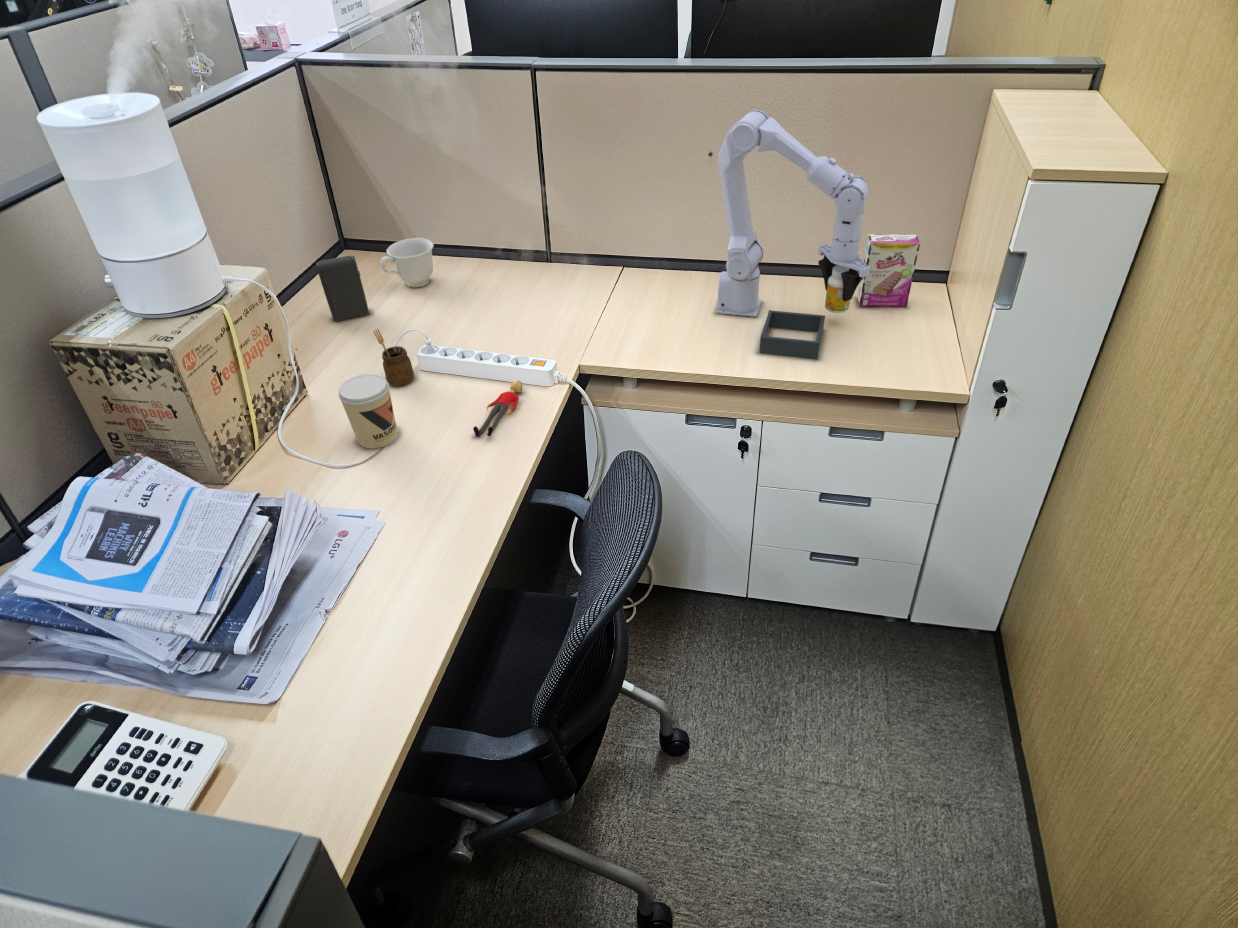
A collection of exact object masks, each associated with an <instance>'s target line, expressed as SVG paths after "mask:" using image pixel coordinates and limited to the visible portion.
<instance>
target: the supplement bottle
mask: <svg viewBox="0 0 1238 928" xmlns="http://www.w3.org/2000/svg"><path fill="white" fill-rule="evenodd" d="M846 271H849V269H848V268H847V267H843V266H840V265H837V266H834V267H833V270H832V276H830V277H829V279H828V285H827V291H826V292H825V293H826V294H825V299H824V309H825V310H826V311H827V312H830V313H833V314H844V313H846V312H847V311H849V309H850V305H851V300H848V301H843V298H842V295H843V281H842V277H841V273H843V272H846Z"/></svg>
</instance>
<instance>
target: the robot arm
mask: <svg viewBox="0 0 1238 928" xmlns="http://www.w3.org/2000/svg"><path fill="white" fill-rule="evenodd" d="M757 146H758V149H757V152H758V153H762V152H770V151H775V152H776V153H778V154H780V155H781V156H782V157H784V158H785V159H787V160H788V161H790V162H792V163H793V164H794V165H795V166H797V167H799V168H800V169H802V170H803V171H805V174H806V179H807V181H808V182H809V183H811V184H812V185H813V186H814V187H815V188H817V189H819V191H821V192H823V193H824V194H825V195H827V196H828V197H829V198H830V199H833V200H834V205H835V207H836V214H835V216H834V223H833V233H832V240H831V241H832V242H831V245H828V244H825V243H824V244H822V245H819V246H818V251H817V255H819V256H821V257H822V256H823V257H822V259H819V260H818V266H819V268H820V270H821V273H822V277H823V282H824V288H825V291H826V292H827V285H828V279H829V277H830V276H832V270H833V267H834V266H837V265H840V266H843V267H847V268H848V269H849V271H846V272H843V273H841V277H842V281H843V295H842V298H843V301H848V300H850V301H851V300H852V299H853V298H854V294H855V293H856V290H857V288H858V287H859V283H860V282H861V280H862V279H863V278H864V277H866V276H869V272H870V267H869V266H867V265H866V264H865V263H864V262H863V260H862V259H861V253H860V252H859V249H860V242H861V237H862V228H863V222H864V212H865V202H866V200H867V198H868V196H869V192H870V191H869V190H870V189H869V183H868V182H867V181H866V180H865V179H864V177H862V176H861V175H854V173H852V172H850V173H849V172H847V170H845V169H844V168H842V167H841V166H839V165H838V164H837V160H836V159H835V158H834V157H831V156H830V158H829V157H828V156H826V155H822V156H816V155H815V154H814V153H813V152H812V151H810V150H809V149H808V148H807V147H805V146H804V144H802V143H800V141H798V140H797V139H796V138H795V137H794V136H792V134H790V133H789V132H788V131H787V130H785V128H783V126H781V125H780V123H779V122H778V121H777V120H776V119H775V118H773V117H772V116H768V114H767V113H766V112H764V111H763V110H760V109H750V110H749V111H748V112H746V113H745V114H744V115H743V117H741V118H740V120H739V121H737V122H735V124H733V125H732V127H730V129H729V130H728V131H727V132H726V133H725V134H724V140H723V143H722V145H721V148H720V150H719V152H718V156H717V165H718V170H719V176H720V183H721V189H722V196H723V201H724V209H725V214H726V219H727V220H726V221H727V227H728V233H729V241H728V246H727V260H726V263H725V269H726V271H724V270H723V271H721V272H720V274H719V279H718V286H717V287H718V288H717V310H716V313H717V314H723V315H730V316H731V315H733V316H743V317H752V318H753V317H757V316H758V313H759V310H760V307H761V304H762V300H761V299H759V291H760V277H761V276H760V275H761V271H760V268H759V263H760V262H761V261H762V260H763V258H764V254H765V253H764V248H763V246H762V245H761V243H760V242H759V239H758V234H757V232H755V231H754V229H753V221H752V216H751V208H750V201H749V194H748V187H747V181H746V173H745V167H744V159H746V157H747V156H748V155H749V153H751V152H752V151H754V150H755V149H756V148H757Z"/></svg>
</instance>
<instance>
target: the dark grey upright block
mask: <svg viewBox="0 0 1238 928" xmlns="http://www.w3.org/2000/svg"><path fill="white" fill-rule="evenodd" d="M355 257H356V256H354V255H345V256H339V257H333V258H328V259H321V260H319V261H317V262H316V263H315V265H316V266H315V267H316V270H317V274H318V278H319V280H320V283H321V286H322V289H323V292H324V296H325V299H326V302H327V305H328V307H329V311H330V314H331V317H332V319H333V321H334V322H335V321H337V322H340V321H345V320H350V319H355V318H361V317H366V316H367V315H369V314H370V310H369V307H368V301H367V298H366V293H365V289H364V286H363V283H362V277H361V272H360V270H359V267H358V263H357V261H356V258H355Z"/></svg>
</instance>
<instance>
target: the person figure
mask: <svg viewBox="0 0 1238 928" xmlns="http://www.w3.org/2000/svg"><path fill="white" fill-rule="evenodd" d="M509 389H510V391H504V392H501V393H500V395H498V397H497V398H496V399H495V400H494V401H492V402H490V403H488V404H487V406H486V411H488V410H489V408H492V409H491V410H490V412H489V414H488V416H487V418H486V420H485V421H484V423H483V424H482V425H481V427H480V428H478V426H474V427H472V430H473V432H474V435H475V437H476V438H479V437H481V435H482V434H483V433H484V431H485V430H486V429H487V434H486V436H487V437H491V436H492V434H493V433H494V431H495V429H496V428H497V426H498V425H499V423H500V421H501V419H502V418H503V416H504V415H505V414H506V415H507V416H508V415H511V413H512V412H514V411H515V410H516V408H517V406H518V403H519V400H520V397H519V396H518V395H517V394H520V393H522V390H523V383H522V382H521V381H520V380H518V379H517V380H515V381H513V382H512V383H511V384H510V386H509ZM512 403H513V404H512ZM511 404H512V406H511V407H510V405H511ZM509 407H510V408H509ZM494 417H495V418H494ZM493 419H494V421H493V422H492V420H493ZM491 422H492V424H491ZM490 424H491V426H489V425H490Z"/></svg>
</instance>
